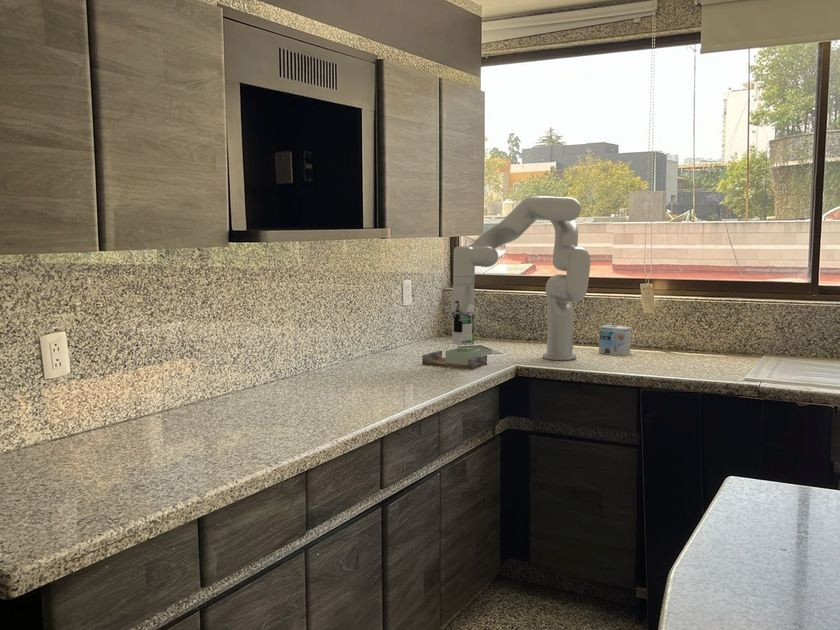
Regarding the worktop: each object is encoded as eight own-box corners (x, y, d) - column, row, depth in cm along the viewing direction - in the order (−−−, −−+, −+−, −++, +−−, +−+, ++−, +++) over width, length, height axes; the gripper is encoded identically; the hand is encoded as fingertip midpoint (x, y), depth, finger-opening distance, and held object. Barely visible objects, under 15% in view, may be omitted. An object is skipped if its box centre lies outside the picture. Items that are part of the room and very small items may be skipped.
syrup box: (460, 345, 270) (461, 304, 268) (451, 343, 275) (452, 303, 274) (474, 344, 273) (474, 304, 271) (464, 342, 278) (465, 302, 276)
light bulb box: (598, 353, 302) (599, 326, 301) (604, 351, 307) (605, 324, 306) (624, 356, 296) (625, 328, 295) (630, 353, 301) (631, 326, 300)
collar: (457, 359, 281) (457, 347, 281) (480, 361, 277) (480, 349, 276) (445, 363, 273) (445, 350, 273) (469, 365, 269) (469, 353, 268)
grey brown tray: (438, 359, 287) (438, 350, 287) (486, 364, 277) (486, 355, 276) (422, 364, 277) (422, 355, 276) (471, 370, 267) (472, 360, 266)
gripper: (465, 279, 281) (465, 327, 283) (442, 282, 266) (442, 332, 268) (484, 280, 277) (483, 328, 279) (462, 283, 262) (461, 334, 264)
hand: (463, 330), depth 274 cm, fingers closed on syrup box, 7 cm apart
